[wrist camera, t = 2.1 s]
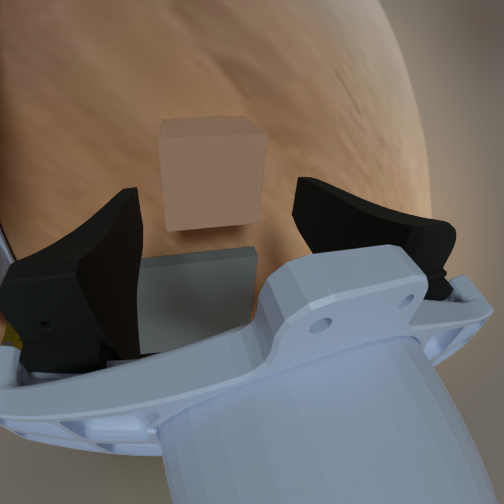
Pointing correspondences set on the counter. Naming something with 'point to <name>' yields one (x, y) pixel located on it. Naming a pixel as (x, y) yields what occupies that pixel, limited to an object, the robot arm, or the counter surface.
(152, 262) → the slate board
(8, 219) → the counter surface
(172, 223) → the terracotta cube
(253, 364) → the robot arm
